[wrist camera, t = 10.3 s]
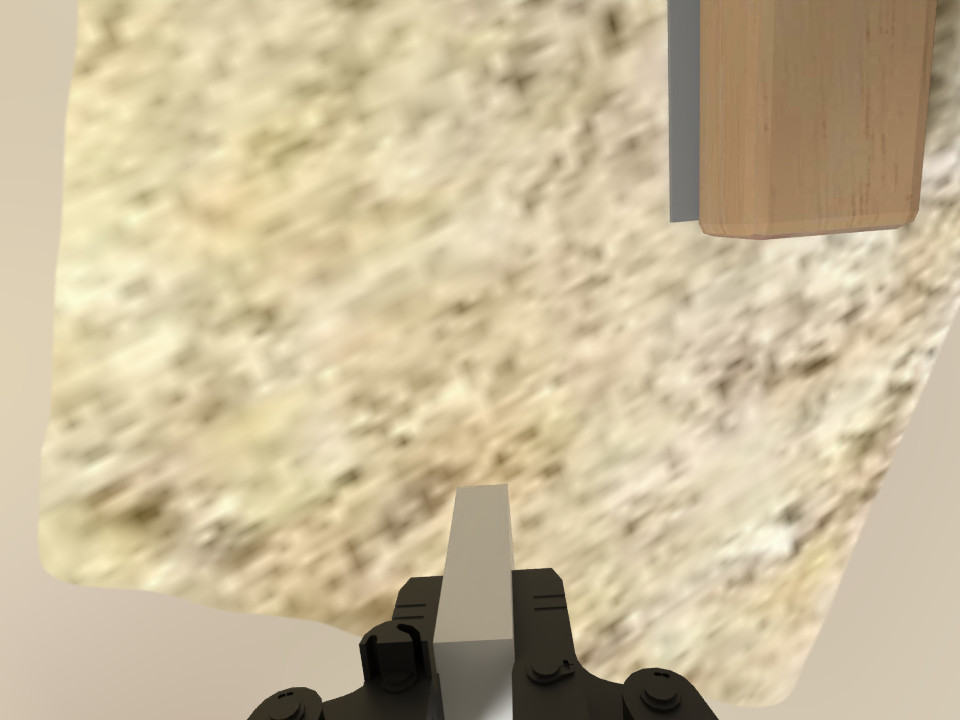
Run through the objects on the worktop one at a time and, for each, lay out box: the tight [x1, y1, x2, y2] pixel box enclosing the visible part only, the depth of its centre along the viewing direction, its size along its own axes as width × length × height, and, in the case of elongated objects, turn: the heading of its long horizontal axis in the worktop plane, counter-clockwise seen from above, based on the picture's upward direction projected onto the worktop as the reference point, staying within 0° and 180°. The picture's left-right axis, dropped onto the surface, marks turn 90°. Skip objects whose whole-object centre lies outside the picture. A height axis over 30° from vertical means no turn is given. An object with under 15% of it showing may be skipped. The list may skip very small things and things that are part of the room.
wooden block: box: [699, 0, 937, 240], centre depth 37 cm, size 10×10×20 cm
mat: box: [668, 0, 700, 222], centre depth 41 cm, size 21×14×1 cm, turn 5°
